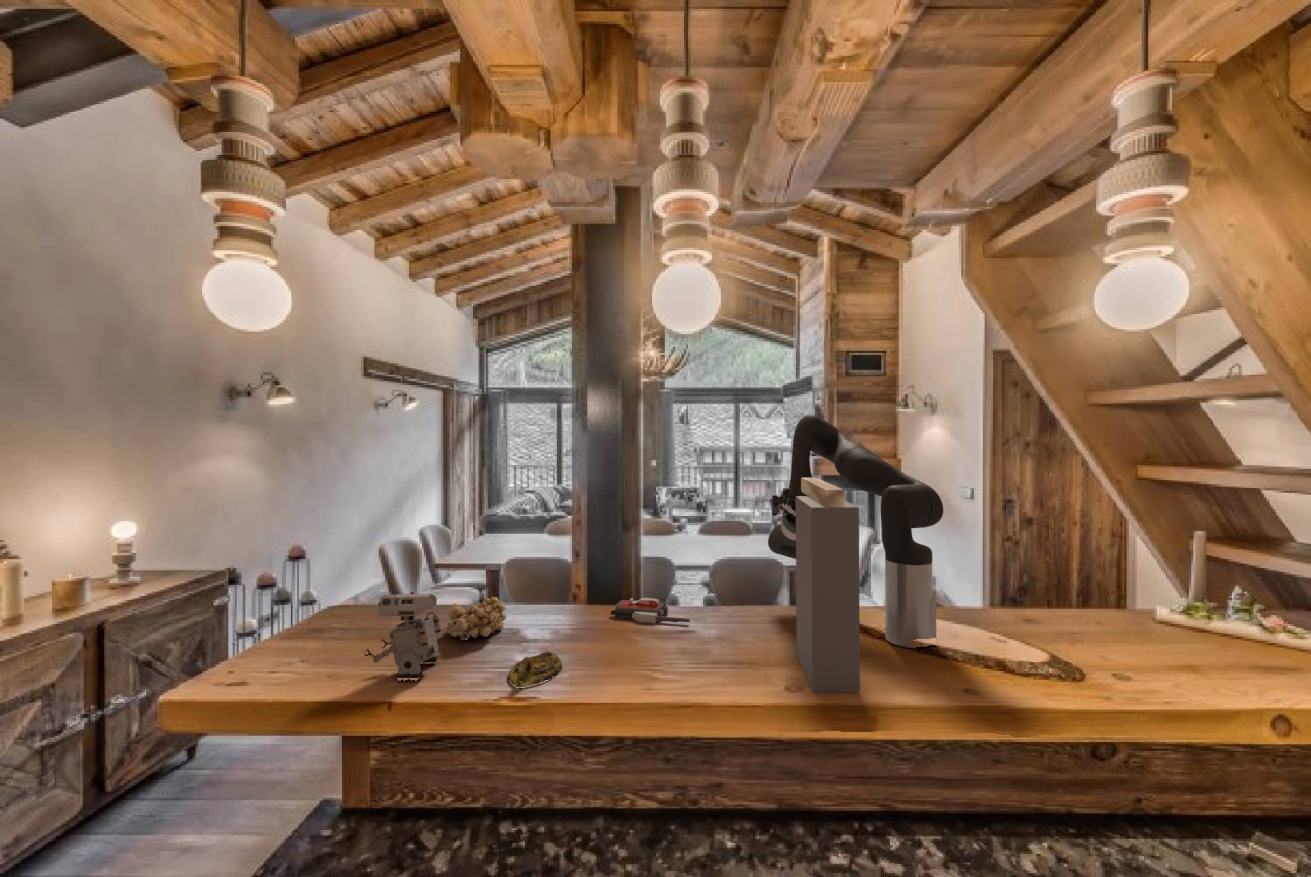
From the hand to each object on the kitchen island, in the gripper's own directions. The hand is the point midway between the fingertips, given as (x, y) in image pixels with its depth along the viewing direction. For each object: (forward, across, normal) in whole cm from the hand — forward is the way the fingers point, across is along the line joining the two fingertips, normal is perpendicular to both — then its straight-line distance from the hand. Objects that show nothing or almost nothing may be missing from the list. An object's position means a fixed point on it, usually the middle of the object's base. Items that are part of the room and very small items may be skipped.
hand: (809, 491), depth 124 cm
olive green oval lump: (-2, -54, +37) cm, 66 cm away
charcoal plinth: (-3, 0, +35) cm, 35 cm away
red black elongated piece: (-30, -35, +20) cm, 50 cm away
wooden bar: (+10, 0, +6) cm, 11 cm away
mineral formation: (-17, -73, +28) cm, 80 cm away
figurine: (0, -79, +37) cm, 87 cm away
